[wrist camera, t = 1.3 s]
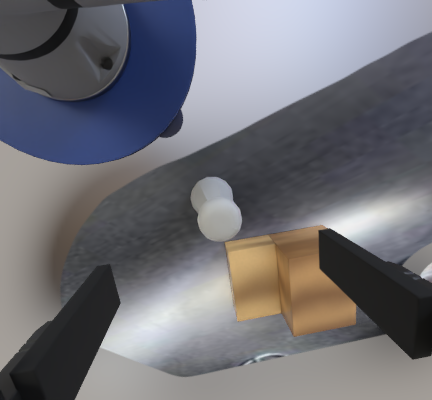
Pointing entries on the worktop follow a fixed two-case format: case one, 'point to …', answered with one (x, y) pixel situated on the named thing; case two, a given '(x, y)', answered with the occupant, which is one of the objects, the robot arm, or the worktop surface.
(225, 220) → the salt shaker
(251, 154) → the worktop surface
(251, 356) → the worktop surface
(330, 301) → the stepped wooden block
